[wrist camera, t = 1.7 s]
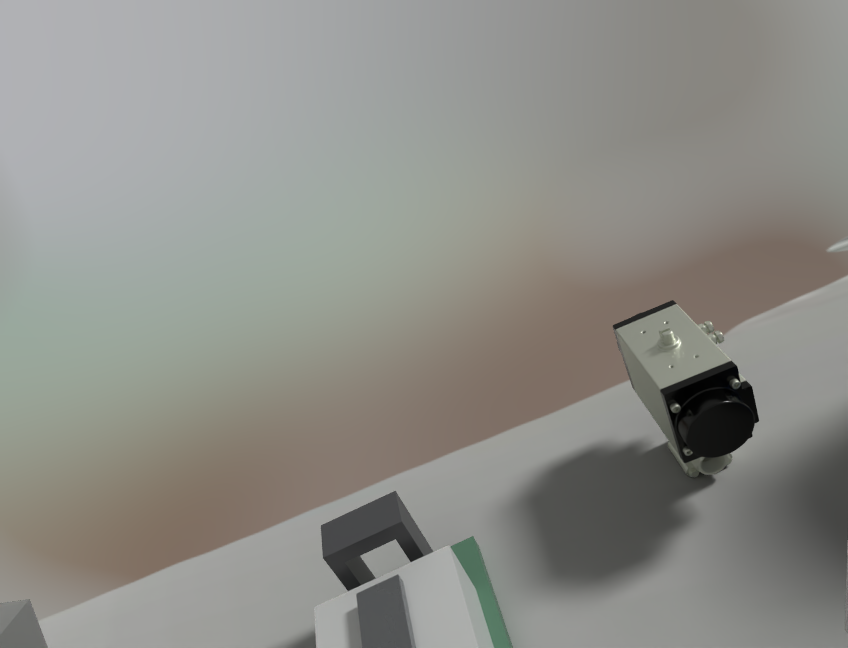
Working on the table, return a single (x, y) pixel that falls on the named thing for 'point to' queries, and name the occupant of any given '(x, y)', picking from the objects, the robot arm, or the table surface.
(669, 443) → the pneumatic valve
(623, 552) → the table surface
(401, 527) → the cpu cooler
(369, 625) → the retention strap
